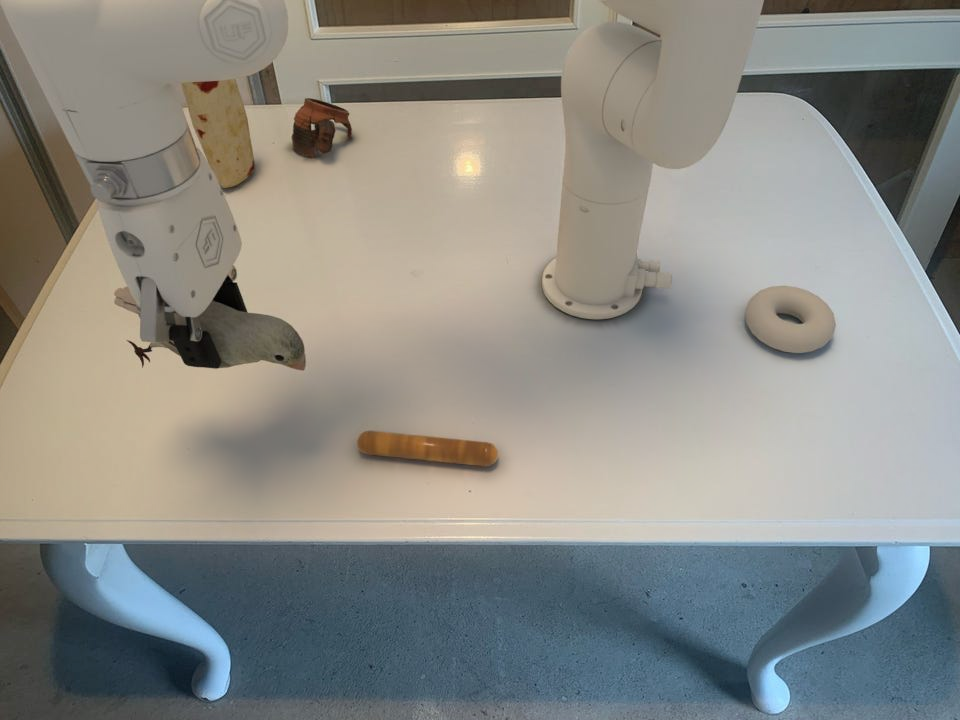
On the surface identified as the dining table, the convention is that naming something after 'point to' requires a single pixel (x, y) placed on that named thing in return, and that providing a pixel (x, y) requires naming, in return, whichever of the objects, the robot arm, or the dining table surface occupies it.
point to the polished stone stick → (427, 448)
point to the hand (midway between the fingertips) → (217, 338)
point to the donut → (783, 333)
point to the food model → (221, 128)
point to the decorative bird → (235, 335)
